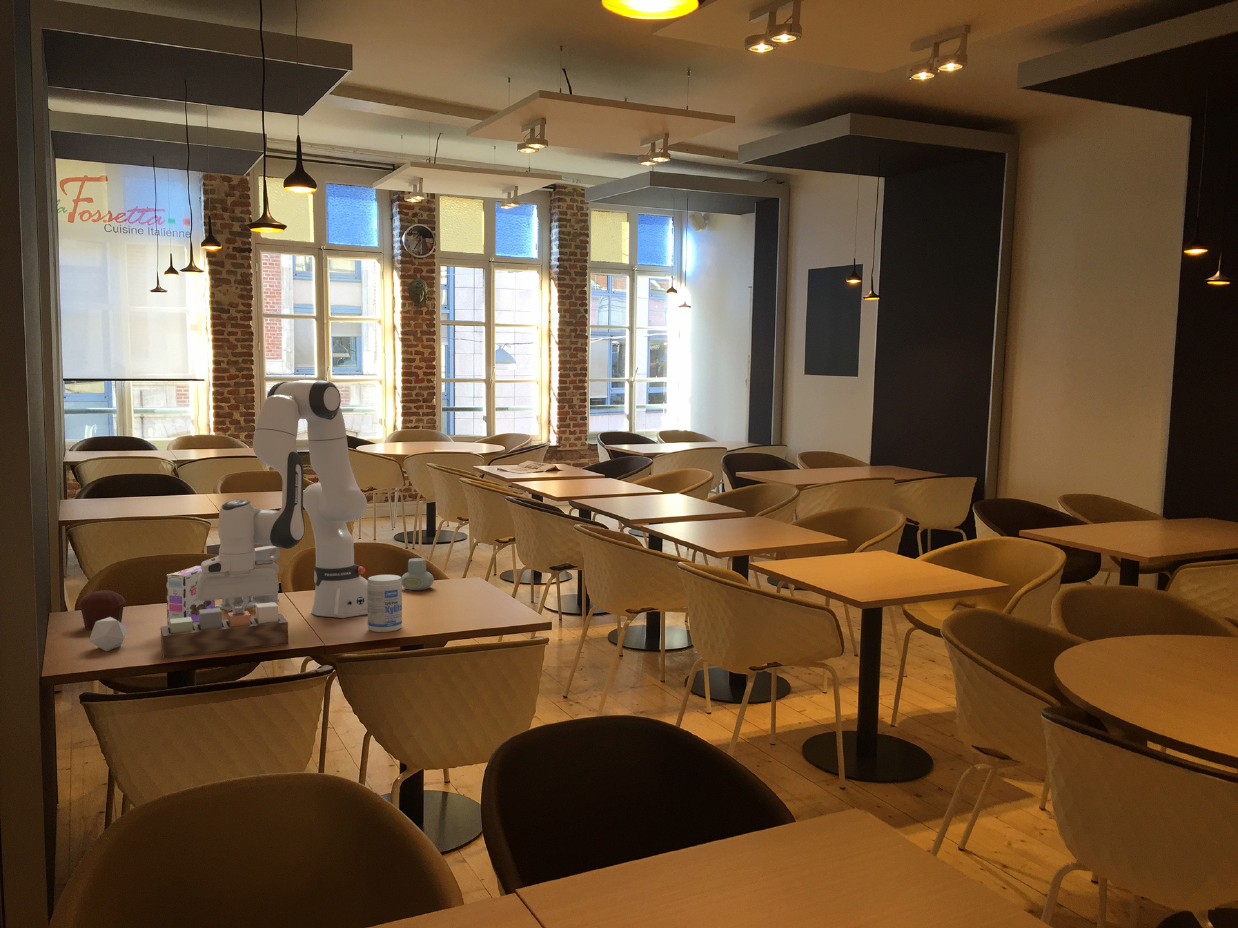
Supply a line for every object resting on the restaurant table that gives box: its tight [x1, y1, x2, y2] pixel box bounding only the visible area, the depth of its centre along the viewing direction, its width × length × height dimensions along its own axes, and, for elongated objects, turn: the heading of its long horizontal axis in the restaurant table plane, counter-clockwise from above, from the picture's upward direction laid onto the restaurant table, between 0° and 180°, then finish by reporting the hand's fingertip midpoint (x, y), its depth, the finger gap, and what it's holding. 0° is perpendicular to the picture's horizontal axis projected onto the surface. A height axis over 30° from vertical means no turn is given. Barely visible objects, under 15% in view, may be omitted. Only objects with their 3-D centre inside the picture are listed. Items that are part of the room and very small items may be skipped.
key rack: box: [160, 613, 289, 660], centre depth 252 cm, size 30×10×6 cm, turn 119°
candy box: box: [165, 565, 216, 626], centre depth 271 cm, size 14×6×16 cm, turn 168°
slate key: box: [199, 607, 223, 630], centre depth 250 cm, size 5×5×5 cm
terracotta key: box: [227, 610, 251, 627], centre depth 254 cm, size 5×5×5 cm
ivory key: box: [255, 602, 279, 624], centre depth 257 cm, size 5×5×5 cm
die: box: [88, 617, 128, 652], centre depth 250 cm, size 8×9×10 cm
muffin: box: [78, 589, 127, 631], centre depth 271 cm, size 12×11×10 cm
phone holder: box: [215, 545, 281, 612], centre depth 298 cm, size 17×10×18 cm, turn 146°
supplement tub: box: [367, 574, 403, 633], centre depth 271 cm, size 10×10×15 cm
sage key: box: [170, 617, 193, 633], centre depth 247 cm, size 5×5×5 cm
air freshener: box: [400, 557, 435, 591], centre depth 322 cm, size 11×8×10 cm
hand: (238, 613), depth 253 cm, fingers closed, pressing on terracotta key
